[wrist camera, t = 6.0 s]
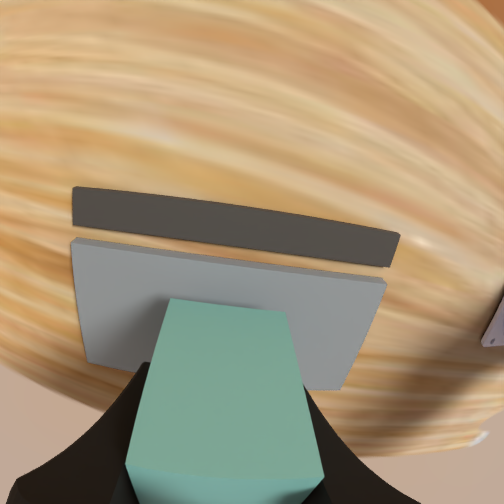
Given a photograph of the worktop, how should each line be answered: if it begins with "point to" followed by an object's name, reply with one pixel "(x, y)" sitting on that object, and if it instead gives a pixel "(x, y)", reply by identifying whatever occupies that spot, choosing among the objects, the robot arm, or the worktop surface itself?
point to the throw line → (232, 225)
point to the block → (223, 412)
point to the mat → (222, 293)
